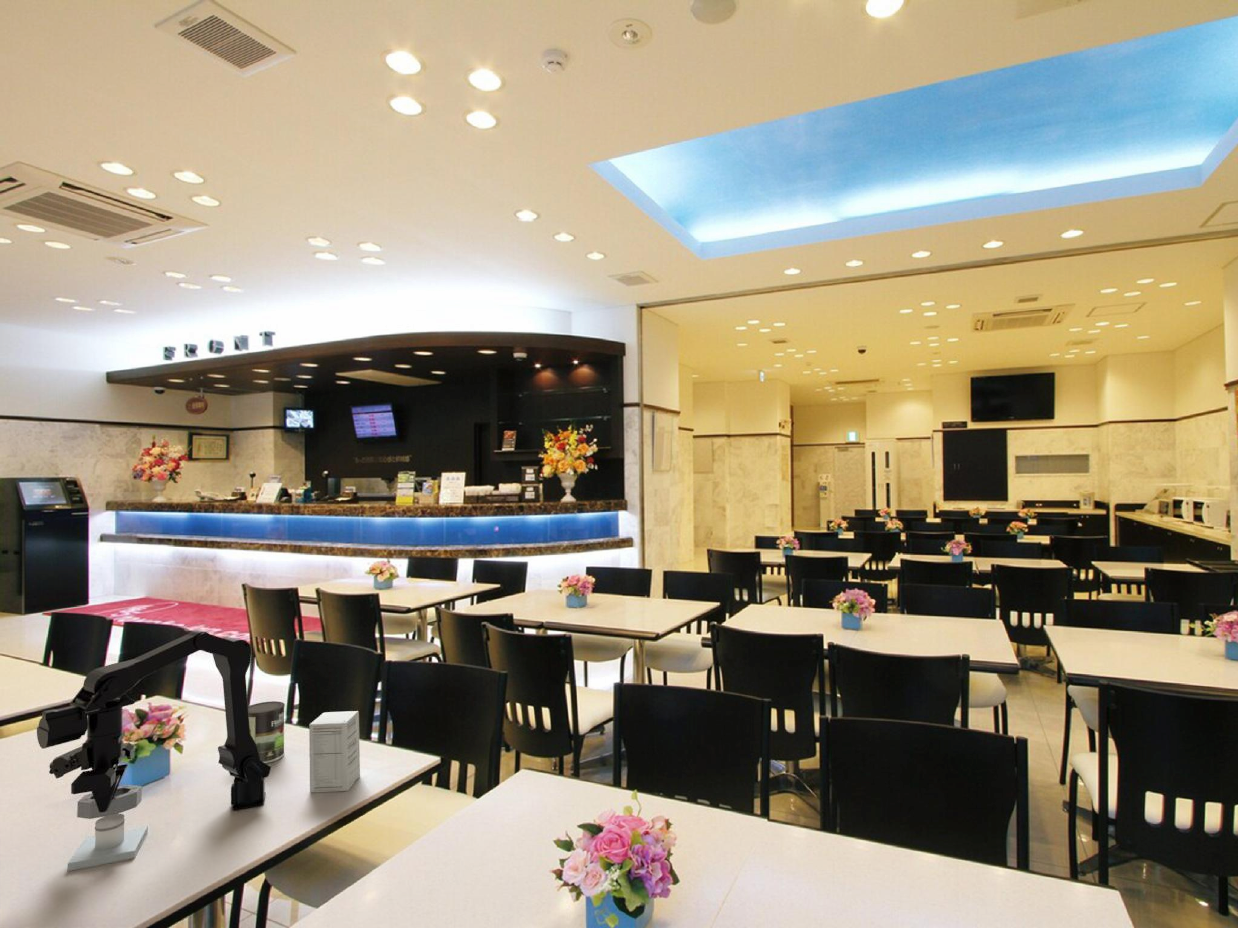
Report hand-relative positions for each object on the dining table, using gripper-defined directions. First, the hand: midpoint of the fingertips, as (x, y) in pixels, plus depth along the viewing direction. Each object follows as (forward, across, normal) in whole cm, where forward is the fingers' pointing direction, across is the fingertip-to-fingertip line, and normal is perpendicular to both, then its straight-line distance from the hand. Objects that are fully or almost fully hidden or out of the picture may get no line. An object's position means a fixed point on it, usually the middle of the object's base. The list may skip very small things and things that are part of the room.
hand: (104, 809), depth 137 cm
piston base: (+10, -4, 0) cm, 11 cm away
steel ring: (+2, -4, 0) cm, 4 cm away
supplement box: (+11, -18, +43) cm, 48 cm away
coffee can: (+11, -45, +25) cm, 53 cm away
